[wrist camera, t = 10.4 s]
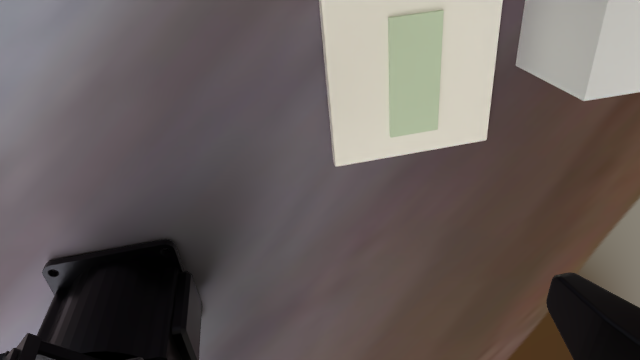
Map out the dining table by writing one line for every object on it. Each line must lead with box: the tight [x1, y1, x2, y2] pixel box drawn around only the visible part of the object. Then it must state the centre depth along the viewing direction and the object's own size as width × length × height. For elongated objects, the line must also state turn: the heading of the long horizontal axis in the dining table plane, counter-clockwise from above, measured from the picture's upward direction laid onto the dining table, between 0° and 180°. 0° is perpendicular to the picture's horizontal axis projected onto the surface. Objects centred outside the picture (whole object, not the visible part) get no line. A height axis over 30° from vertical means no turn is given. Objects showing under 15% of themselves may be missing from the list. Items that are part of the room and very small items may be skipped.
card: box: [319, 0, 503, 167], centre depth 21 cm, size 8×8×1 cm
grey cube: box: [516, 0, 640, 101], centre depth 19 cm, size 5×5×5 cm
